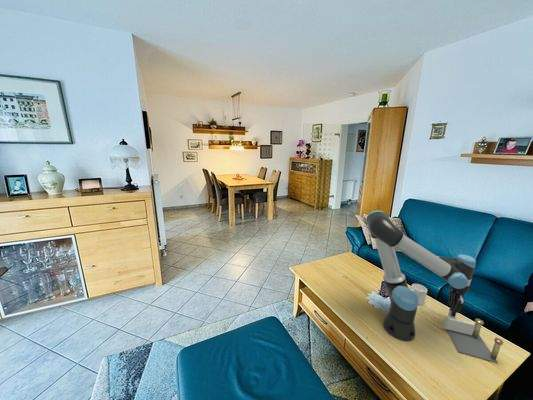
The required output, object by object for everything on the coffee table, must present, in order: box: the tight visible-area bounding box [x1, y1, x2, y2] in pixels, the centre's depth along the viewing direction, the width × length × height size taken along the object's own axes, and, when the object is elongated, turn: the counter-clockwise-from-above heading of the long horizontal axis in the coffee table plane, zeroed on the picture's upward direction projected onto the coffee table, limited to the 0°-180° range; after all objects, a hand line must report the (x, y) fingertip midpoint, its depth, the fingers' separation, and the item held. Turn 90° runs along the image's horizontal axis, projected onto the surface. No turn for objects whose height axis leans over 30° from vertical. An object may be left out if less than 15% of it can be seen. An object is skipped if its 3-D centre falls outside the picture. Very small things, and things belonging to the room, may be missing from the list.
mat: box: [445, 329, 499, 364], centre depth 113 cm, size 15×17×1 cm
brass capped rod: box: [490, 337, 504, 360], centre depth 103 cm, size 3×3×11 cm
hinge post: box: [472, 317, 485, 339], centre depth 115 cm, size 3×3×11 cm
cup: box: [410, 283, 428, 306], centre depth 142 cm, size 8×12×10 cm
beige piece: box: [443, 314, 475, 335], centre depth 118 cm, size 12×2×7 cm, turn 69°
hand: (450, 319), depth 124 cm, fingers closed
